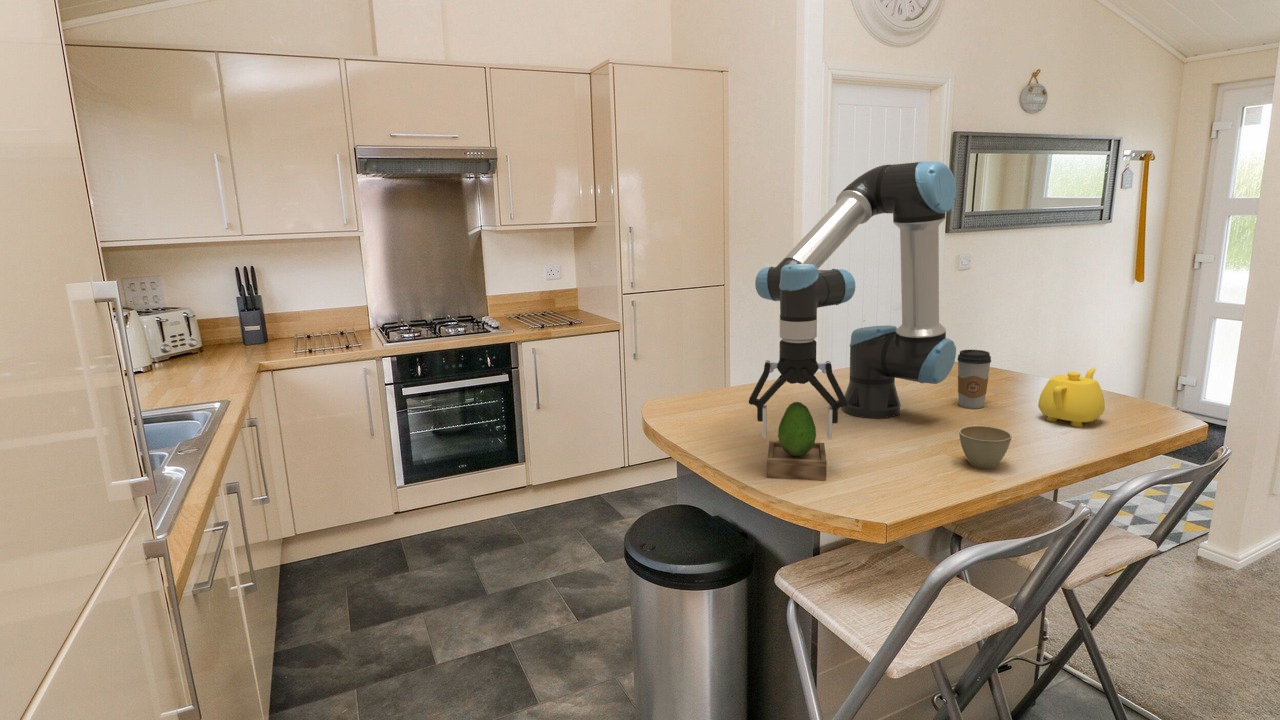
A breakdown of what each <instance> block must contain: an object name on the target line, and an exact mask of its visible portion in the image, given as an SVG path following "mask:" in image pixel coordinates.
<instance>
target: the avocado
mask: <svg viewBox="0 0 1280 720" xmlns="http://www.w3.org/2000/svg"><path fill="white" fill-rule="evenodd" d="M777 430H778V431H777V437H778V441H779V442H780V445H781V446H782V448H783V449H784V451H785V452H786V453H788V454H789V455H791V456H802V455H804V454H806V453H807V452H809V451H810V450H811V449H812V447H813V445H814V443H815V442H816V439H817V429H816V424H815V422H814V419H813V416H812V414H811V412H810V409H809V408H808V407H807V406H806V405H805V404H804V403H802V402H801V401H800V402H799V401H794V402H792V403H790V404H789V405H788V407H787V408H786V409H785V412H784V414H783V416H782V418H781V420H780V422H779V426H778V429H777Z"/></svg>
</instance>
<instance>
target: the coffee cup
mask: <svg viewBox="0 0 1280 720" xmlns="http://www.w3.org/2000/svg"><path fill="white" fill-rule="evenodd" d="M956 361H957V392H958V395H957V398H958V405H959V407H962V408H965V409H971V410H977V409H978V410H979V409H981V408H983V407H984V406H985V403H986V402H985V400H986V395H987V388H988V383H989V375H990V374H989V372H990V366H991V363H992V356H991V354H990V352H989V351H986V350H982V349H962V350H960V351H959V354H958V355H957V360H956Z"/></svg>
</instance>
